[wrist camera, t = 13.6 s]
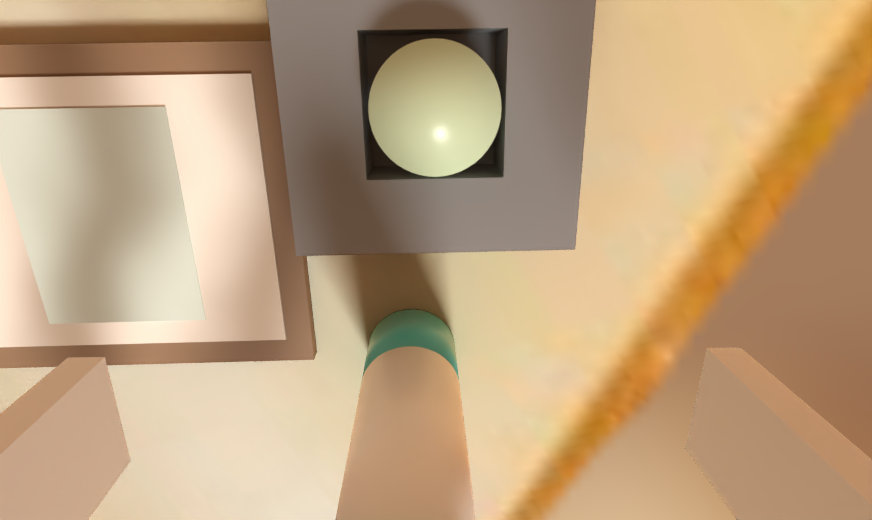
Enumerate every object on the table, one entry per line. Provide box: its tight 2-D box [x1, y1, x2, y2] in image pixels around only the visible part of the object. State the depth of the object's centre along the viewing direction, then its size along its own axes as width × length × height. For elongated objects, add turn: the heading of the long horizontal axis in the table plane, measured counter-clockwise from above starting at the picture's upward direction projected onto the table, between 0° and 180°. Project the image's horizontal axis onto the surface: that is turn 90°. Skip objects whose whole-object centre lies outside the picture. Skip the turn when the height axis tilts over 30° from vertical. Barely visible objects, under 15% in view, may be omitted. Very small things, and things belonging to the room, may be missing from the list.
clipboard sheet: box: [0, 41, 317, 368], centre depth 19 cm, size 16×12×1 cm
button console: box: [266, 0, 596, 256], centre depth 17 cm, size 9×9×3 cm
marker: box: [336, 309, 476, 520], centre depth 16 cm, size 4×4×12 cm
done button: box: [368, 38, 502, 177], centre depth 15 cm, size 4×4×3 cm
